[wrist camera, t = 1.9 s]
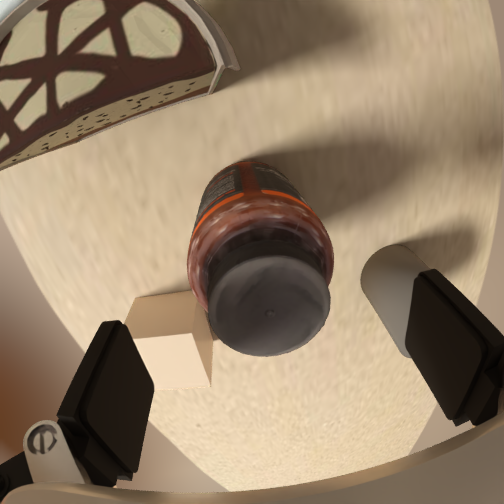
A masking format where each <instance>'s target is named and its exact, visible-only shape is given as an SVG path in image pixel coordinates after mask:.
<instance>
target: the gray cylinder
mask: <svg viewBox="0 0 504 504" xmlns="http://www.w3.org/2000/svg"><path fill="white" fill-rule="evenodd" d="M426 270H430V269H429V268H428V267H427V266H426V265H425V264H424V263H423V262H422V261H421V260H420V259H419V258H418V257H417V256H416V255H415V254H414V253H413V252H411V251H410V250H409V249H408V248H406V247H404V246H402V245H390V246H386V247H384V248H382V249H380V250H378V251H377V252H376V253H374V254H373V255H372V256H371V257H370V258H369V260H368V261H367V262H366V264H365V266H364V268H363V270H362V274H361V287H362V290H363V292H364V293H365V295H366V297H367V298H368V300H369V301H370V303H371V305H372V306H373V308H374V309H375V311H376V313H377V314H378V316H379V317H380V319H381V321H382V322H383V324H384V326H385V327H386V329H387V331H388V332H389V334H390V336H391V337H392V339H393V341H394V342H395V344H396V346H397V347H398V349H399V351H400V352H401V354H402V355H404V356H405V357H407V358H411V356H410V355H409V353H408V351H407V350H406V347H405V336H406V331H407V325H408V319H409V312H410V306H411V299H412V291H413V283H414V279H415V278H416V277H417V276H418V274H419V273H420V272H422V271H426Z"/></svg>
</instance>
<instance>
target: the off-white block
mask: <svg viewBox="0 0 504 504" xmlns="http://www.w3.org/2000/svg"><path fill="white" fill-rule="evenodd" d="M124 324H125V325H126V326H127V327H128V329H129V331H130V334H131V336H132V338H133V340H134V343H135V345H136V347H137V349H138V351H139V353H140V355H141V358H142V360H143V362H144V364H145V366H146V368H147V370H148V372H149V374H150V376H151V378H152V380H153V382H154V391H159V390H177V389H191V388H202V387H211V376H212V355H213V338H212V335H211V332H210V328H209V325H208V321H207V318H206V315H205V311H204V308H203V307H202V306H201V305H200V303H199V302H198V300H197V298H196V297H195V295H194V294H193V291H192V290H190V291H183V292H176V293H169V294H162V295H155V296H148V297H140V298H135V300H134V302H133V304H132V306H131V309H130V311H129V313H128V316H127V318H126V320H125V323H124Z"/></svg>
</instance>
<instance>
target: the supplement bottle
mask: <svg viewBox="0 0 504 504" xmlns="http://www.w3.org/2000/svg"><path fill="white" fill-rule="evenodd" d="M333 268H334V253H333V247H332V244H331V240H330V238H329V235H328V233H327V231H326V229H325V227H324V226H323V224H322V222H321V221H320V220H319V218H318V217H317V216H316V214H315V213H314V212H313V210H312V209H311V208H310V206H309V205H308V204H307V203H306V201H305V200H304V199H303V197H302V196H301V195H300V194H299V193H298V191H297V190H296V189H295V188H294V187H293V185H292V184H291V183H290V182H289V180H288V179H287V178H286V177H285V176H284V175H283V174H282V173H280V172H279V171H277V170H276V169H275V168H273V167H271V166H269V165H267V164H263V163H259V162H240V163H235V164H232V165H230V166H228V167H226V168H224V169H223V170H221V171H220V172H219V173H217V174H216V175H215V176H214V177H213V178H212V180H211V181H210V182H209V184H208V185H207V187H206V189H205V191H204V193H203V196H202V199H201V203H200V206H199V211H198V214H197V218H196V221H195V225H194V229H193V232H192V237H191V240H190V245H189V250H188V257H187V272H188V279H189V282H190V286H191V289H192V291H193V294H194V295H195V297H196V298H197V300H198V302H199V303H200V305H201V306H202V307H203V308H204V309H205V310H206V311H207V312H208V318H209V322H210V325H211V327H212V329H213V331H214V333H215V334H216V335H217V337H218V338H219V339H220V340H221V341H222V342H223V343H224V344H226V345H227V346H229V347H230V348H232V349H234V350H236V351H238V352H240V353H243V354H247V355H252V356H265V357H268V356H277V355H281V354H284V353H289V352H291V351H293V350H295V349H298V348H300V347H301V346H303V345H305V344H307V343H308V342H309V341H310V340H311V339H312V338H313V337H314V336H315V335H316V334H317V333H318V332H319V331H320V329H321V328H322V327H323V326H324V324H325V321H326V319H327V317H328V314H329V311H330V298H331V297H330V292H329V289H328V286H329V284H330V282H331V278H332V275H333Z"/></svg>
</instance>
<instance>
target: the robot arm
mask: <svg viewBox="0 0 504 504" xmlns="http://www.w3.org/2000/svg"><path fill="white" fill-rule="evenodd" d="M405 347H406V350H407V351H408V353H409V355H410V356H411V358H412V360H413V361H414V363H415V364H416V366H417V368H418V369H419V371H420V373H421V374H422V376H423V378H424V379H425V381H426V383H427V384H428V386H429V388H430V389H431V391H432V393H433V394H434V396H435V398H436V400H437V401H438V403H439V405H440V407H441V408H442V410H443V412H444V414H445V415H446V417H447V418H448V419H449V420H453V422H454V424H455V426H459V425H461V424H463V423H465V422H467V421H469V420H470V421H471V423H472V424H473V425H472V429H470V430H468V431H466V432H464V433H462V434H459V435H457V436H455V437H453V438H451V439H448V440H446V441H444V442H441V443H439V444H437V445H434V446H432V447H430V448H427V449H425V450H422V451H419V452H417V453H414V454H412V455H409V456H406V457H403V458H400V459H397V460H394V461H391V462H388V463H385V464H382V465H379V466H375V467H372V468H368V469H365V470H361V471H358V472H354V473H350V474H346V475H342V476H338V477H333V478H329V479H324V480H319V481H314V482H309V483H303V484H297V485H291V486H284V487H277V488H269V489H260V490H249V491H236V492H217V493H173V492H154V491H140V490H128V489H119V488H117V487H116V482H117V479H120V480H128V481H132V477H133V473H136V472H137V470H138V467H139V461H140V456H141V451H142V446H143V441H144V436H145V431H146V426H147V422H148V417H149V412H150V408H151V403H152V399H153V394H154V382H153V380H152V378H151V376H150V374H149V372H148V370H147V368H146V366H145V364H144V362H143V360H142V358H141V355H140V353H139V351H138V349H137V347H136V345H135V343H134V340H133V338H132V336H131V334H130V331H129V329H128V327H127V326H126V325H125V324H122V322H121V321H119V320H115V321H104V322H102V323H101V325H100V327H99V329H98V331H97V332H96V334H95V336H94V338H93V340H92V342H91V344H90V346H89V348H88V350H87V352H86V354H85V356H84V358H83V360H82V362H81V364H80V366H79V368H78V370H77V372H76V374H75V376H74V378H73V380H72V382H71V384H70V386H69V388H68V391H67V393H66V395H65V397H64V399H63V401H62V404H61V406H60V408H59V410H58V413H57V417H58V418H59V419H58V422H57V423H55V422H53V421H50V420H45V421H41V422H38V423H36V424H34V425H33V426H32V427H31V428H30V429H29V430H28V431H27V433H26V435H25V437H24V441H23V447H24V451H23V452H21V453H20V454H18V455H16V456H15V457H13V458H11V459H9V460H8V461H6V462H4V463H3V464H1V465H0V504H504V336H503V335H502V334H501V332H500V331H499V330H498V329H497V328H496V327H495V326H494V325H493V324H492V323H491V322H490V321H489V320H488V319H487V318H486V317H485V316H484V315H483V314H482V313H481V312H480V311H479V310H478V309H477V308H476V307H475V306H474V305H473V304H472V303H471V302H470V301H469V300H468V299H467V298H466V297H465V296H464V295H463V294H462V293H461V292H460V291H459V290H458V289H457V288H456V287H455V286H454V285H453V284H452V283H451V282H450V281H449V280H447V279H446V278H445V277H444V276H443V275H442V274H441V273H440V272H439V271H438V270H436V269H431V270H426V271H422V272H420V273H419V274H418V276H417V277H416V278H415V279H414V283H413V291H412V299H411V306H410V312H409V319H408V325H407V331H406V336H405Z"/></svg>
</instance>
